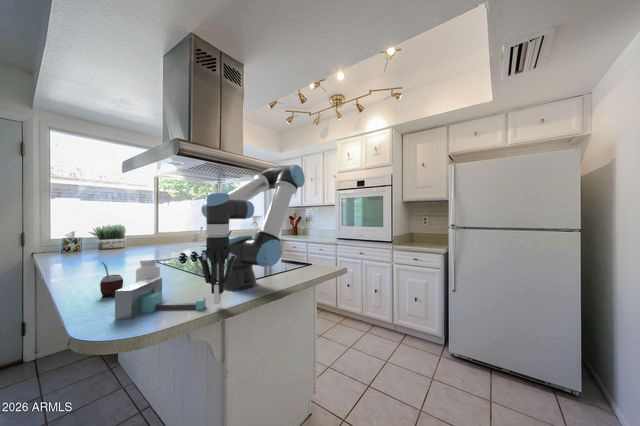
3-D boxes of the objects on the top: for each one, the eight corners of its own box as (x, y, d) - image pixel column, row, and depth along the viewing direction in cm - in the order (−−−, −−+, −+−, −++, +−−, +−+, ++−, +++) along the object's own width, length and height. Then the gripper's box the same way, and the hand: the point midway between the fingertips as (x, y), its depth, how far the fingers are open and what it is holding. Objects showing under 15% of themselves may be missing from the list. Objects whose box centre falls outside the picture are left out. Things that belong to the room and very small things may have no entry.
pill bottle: (150, 299, 93) (150, 261, 93) (130, 299, 93) (130, 261, 93) (164, 293, 101) (164, 257, 101) (145, 293, 101) (145, 257, 101)
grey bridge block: (161, 301, 92) (162, 277, 92) (131, 319, 76) (131, 290, 76) (148, 301, 91) (148, 277, 91) (114, 319, 75) (115, 290, 75)
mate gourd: (120, 291, 103) (120, 256, 103) (125, 295, 98) (125, 259, 98) (97, 296, 97) (97, 259, 97) (100, 300, 92) (101, 261, 92)
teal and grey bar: (206, 305, 87) (206, 291, 87) (200, 310, 82) (200, 296, 82) (146, 306, 86) (147, 292, 86) (137, 312, 81) (137, 297, 81)
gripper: (239, 235, 89) (239, 298, 89) (203, 235, 89) (203, 299, 88) (233, 236, 82) (233, 306, 82) (194, 237, 81) (193, 306, 81)
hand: (217, 302), depth 85 cm, fingers closed
